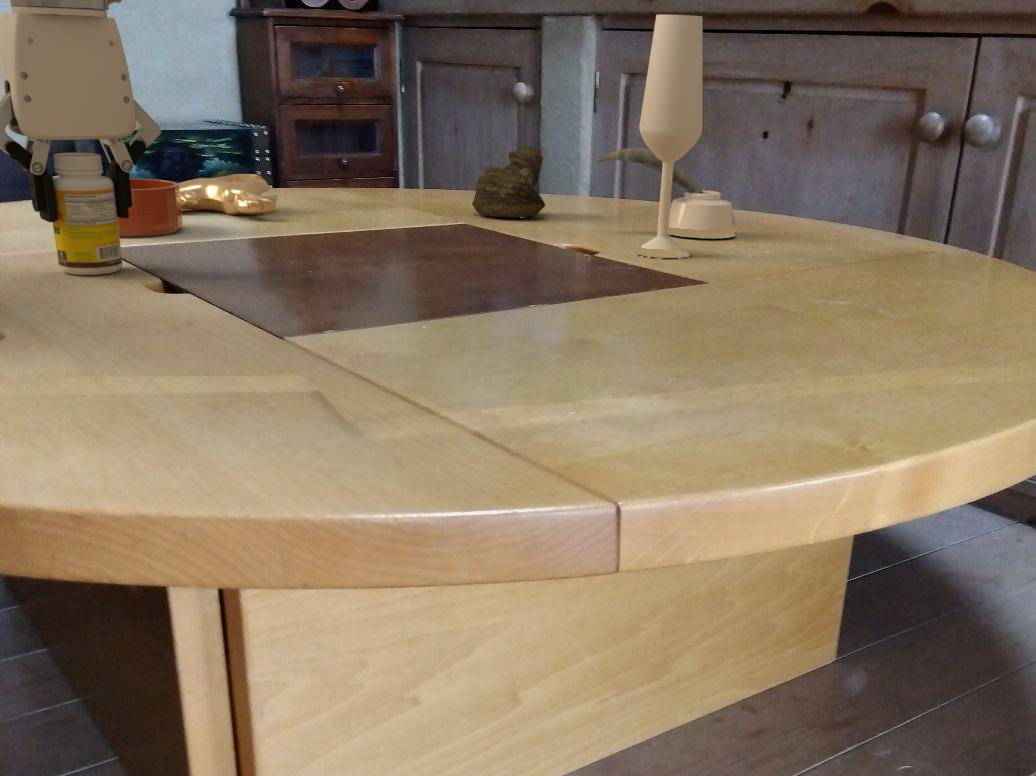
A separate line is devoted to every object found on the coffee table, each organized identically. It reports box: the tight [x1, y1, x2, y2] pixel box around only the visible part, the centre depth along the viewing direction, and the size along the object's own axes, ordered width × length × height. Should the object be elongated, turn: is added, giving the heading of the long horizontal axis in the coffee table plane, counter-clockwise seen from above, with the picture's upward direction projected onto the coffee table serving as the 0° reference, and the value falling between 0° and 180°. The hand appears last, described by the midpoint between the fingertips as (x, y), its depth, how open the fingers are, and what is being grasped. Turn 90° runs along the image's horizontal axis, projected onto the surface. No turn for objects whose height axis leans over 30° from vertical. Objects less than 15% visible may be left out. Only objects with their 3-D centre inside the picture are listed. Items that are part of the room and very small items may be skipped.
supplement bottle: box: [52, 152, 123, 276], centre depth 102 cm, size 6×6×10 cm
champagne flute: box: [630, 14, 704, 260], centre depth 120 cm, size 7×7×24 cm
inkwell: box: [596, 147, 736, 230], centre depth 137 cm, size 9×18×10 cm, turn 100°
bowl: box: [117, 177, 183, 238], centre depth 126 cm, size 11×11×5 cm
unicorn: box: [177, 173, 279, 215], centre depth 141 cm, size 20×4×17 cm
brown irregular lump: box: [471, 145, 546, 219], centre depth 147 cm, size 11×12×10 cm
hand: (84, 216), depth 102 cm, fingers closed on supplement bottle, 5 cm apart
